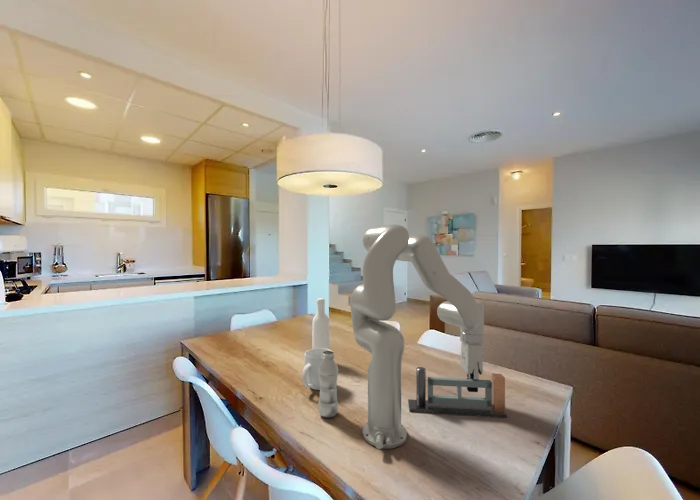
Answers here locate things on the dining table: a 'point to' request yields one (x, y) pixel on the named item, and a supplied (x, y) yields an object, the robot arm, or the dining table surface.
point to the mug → (312, 367)
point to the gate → (460, 383)
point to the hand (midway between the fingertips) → (472, 390)
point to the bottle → (320, 327)
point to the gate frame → (426, 407)
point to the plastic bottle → (328, 385)
